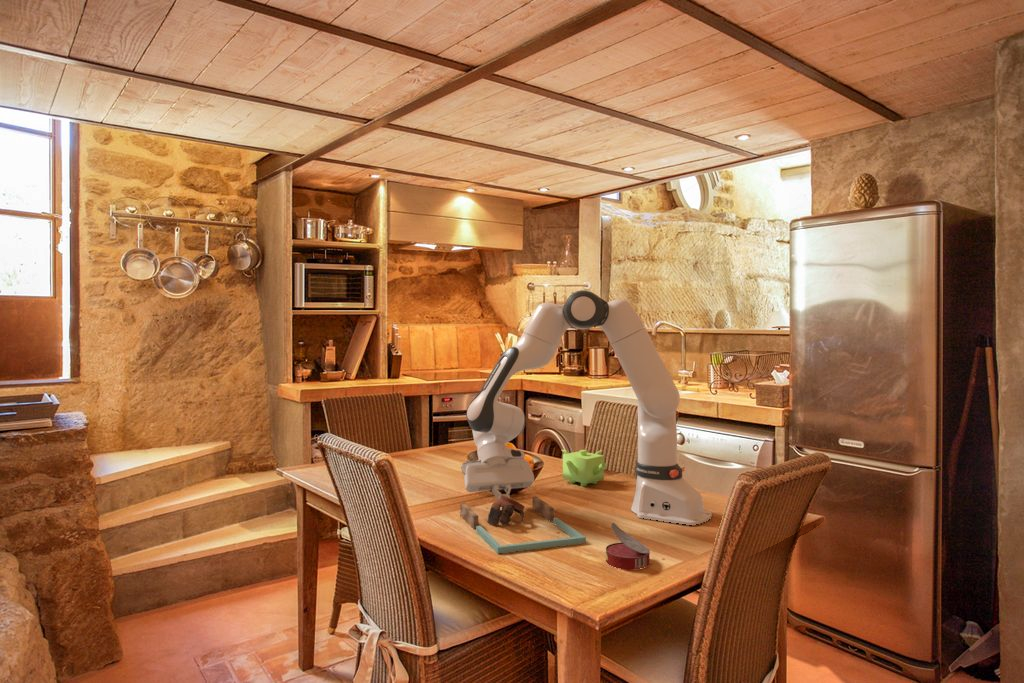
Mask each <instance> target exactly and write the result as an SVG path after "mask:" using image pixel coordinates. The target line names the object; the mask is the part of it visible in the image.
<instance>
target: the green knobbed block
mask: <svg viewBox="0 0 1024 683" xmlns="http://www.w3.org/2000/svg"><path fill="white" fill-rule="evenodd" d="M561 451H562V453H563V454H562V479H564V480H568V484H573V485H575V483H576V482H578V483H580V487H582V488H585V486H586V487H588V484H592V485H598V484H597V483H598V482H600V481H605V470H606V469H607V468H608V467H607V464H606V463H605V455H603V454H601V453H602V452H603V451H602V450H598V451H597V450H596V452H595V453H594V452H593V453H592V452H588V450H587V449H579V451H575V452H570V453H569V452H568V451H567V450H566V449H561Z"/></svg>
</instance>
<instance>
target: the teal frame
mask: <svg viewBox="0 0 1024 683" xmlns="http://www.w3.org/2000/svg"><path fill="white" fill-rule="evenodd" d="M552 522H553V523H554V524H556V525H557V526H558V527H557V526H556V525H555V526H556V527H557V528H559V527H560V528H561V529H562V530H561V529H560V528H559V529H560V530H561V531H563V530H564V531H565V532H564V531H563V532H564V533H566V532H567V533H568V534H569V535H568V534H567V533H566V534H567V535H568V536H570V535H571V536H572V537H571V536H570V537H563V538H553V539H544V540H536V541H528V542H518V543H510V544H504V545H502V544H500V542H498V541H497V540H496V539H495V538H494V537H493V536H492V535H491V534H490V533H489V532H488V531H487V530H486V529H484V527H483V526H482V525H478V526H476V529H475V532H476V533H477V535H479V537H481V538H482V540H483V541H485V543H486V544H487V545H488V546H490V548H491V547H492V548H493V549H494V550H495V551H496V552H497V553H496V552H495V551H494V550H493V549H492V548H491V549H492V550H493V551H494V552H495V553H496V554H497V555H500V553H502V554H508V553H509V552H510V553H516V551H518V552H524V550H527V551H532V550H533V549H535V550H542V548H543V549H549V547H551V548H556V546H560V547H565V546H564V545H568V546H574V545H573V544H576V545H581V544H580V543H584V544H586V543H587V537H586V536H585V535H584V534H582V533H580V532H579V531H577V530H576V529H574V528H573V527H572V526H570V525H569V524H568V523H566V522H564V521H563V520H561V519H560V518H559V517H554V518H553V521H552ZM553 523H552V524H553ZM554 524H553V525H554Z"/></svg>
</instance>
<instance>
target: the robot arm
mask: <svg viewBox="0 0 1024 683" xmlns="http://www.w3.org/2000/svg"><path fill="white" fill-rule="evenodd" d="M593 327H597V328H599V329H601V330H602V331H603V333H604V334H605V336H606V338H607V340H608V342H609V344H610V346H611V349H612V350H613V352H614V354H615V356H616V358H617V360H618V362H619V364H620V366H621V368H622V370H623V372H624V374H625V376H626V377H627V380H628V382H629V384H630V387H631V389H632V390H633V392H634V395H635V396H636V399H637V461H635V478H636V485H635V492H634V497H633V501H632V505H631V508H630V509H631V512H633V513H634V514H636V517H637V518H639V519H643V518H644V520H650V519H651V520H650V521H656V520H658V521H657V522H663V521H664V523H669V522H671V523H670V524H676V523H679V524H678V525H682V524H686V525H685V526H689V525H692V526H697V525H696V524H699V525H701V524H700V523H702V524H704V523H703V522H705V523H707V522H709V521H710V520H711V519H712V518H713V517H712V516H713V515H712V512H711V511H709V510H706V509H705V507H704V501H703V497H702V494H701V493H700V492H699V491H698V490H697V489H696V488H694V487H693V486H692V485H691V484H690V483H689V482H688V480H686V479H685V478H683V472H685V471H686V470H685V469H686V467H684V466H683V467H681V466H680V465H679V463H678V462H677V461H678V460H677V458H678V455H677V454H678V452H677V451H678V433H677V432H678V431H677V415H676V414H677V409H678V407H679V406H680V401H681V399H680V398H681V397H680V392H679V390H678V388H677V386H676V384H675V382H674V380H673V378H672V376H671V374H670V372H669V371H668V369H667V367H666V365H665V362H664V361H663V359H662V357H661V355H660V353H659V352H658V350H657V348H656V346H655V344H654V342H653V340H652V338H651V336H650V334H649V332H648V330H647V328H646V326H645V324H644V323H643V321H642V318H641V317H640V315H639V314H638V313H637V311H636V309H635V308H634V307H633V305H632V304H631V303H630V302H629V301H628V300H626V299H622V298H620V299H619V298H618V299H617V298H616V299H613V300H610V301H606V300H605V299H603V298H601V297H600V296H599V295H597V294H596V293H594V292H592V291H589V290H584V289H583V290H577V291H575V292H572V294H570V295H569V296H568V298H567V299H566V301H565V303H563V304H556V303H554V302H546V301H545V302H541V303H540V304H537V306H536V308H535V309H534V311H533V312H532V314H531V315H530V317H529V319H528V321H527V323H526V325H525V327H524V329H523V332H522V334H521V335H520V337H519V339H518V340H517V341H516V342H515V344H514V345H513V346H511V347H508V348H506V350H505V351H504V352H502V354H501V355H500V357H499V359H498V360H497V362H496V363H495V365H494V366H493V369H492V370H491V372H490V374H489V375H488V377H487V379H486V380H485V382H484V384H483V385H482V387H481V389H479V392H478V393H477V395H476V396H475V397H474V398H473V399H472V401H471V402H470V403H469V404H468V407H467V409H466V419H467V422H468V425H469V427H470V428H471V430H472V438H473V441H474V442H473V443H474V445H475V446H476V448H477V450H476V451H477V452H476V454H477V460H476V459H475V460H466V461H464V462H463V463H462V464H461V467H460V469H461V473H462V475H463V476H464V479H463V480H464V482H463V483H464V488H465V490H466V491H467V492H469V493H473V492H486V491H492V494H493V495H494V496H495V497H496V498H497V500H498V499H500V497H501V495H503V496H506V497H509V498H511V496H510V493H511V490H512V489H522V488H523V489H524V488H531V487H532V485H533V484H534V481H535V475H534V472H533V469H532V467H531V464H530V463H529V461H528V460H526V459H525V457H526V456H525V452H524V451H523V450H518V449H514V448H510V447H508V446H507V445H506V444H507V443H509V442H511V441H513V440H514V439H516V438H517V437H519V436H520V435H521V434H522V433H523V431H524V429H525V427H526V416H525V412H524V411H523V409H522V408H521V407H518V406H515V405H513V404H510V403H505V402H503V401H498V399H499V398H500V395H501V394H502V392H503V391H504V389H505V388H506V386H507V384H508V382H509V380H510V379H511V378H512V377H513V376H514V375H515V374H518V373H520V372H522V371H528V370H537V369H541V368H543V367H545V366H547V365H548V364H550V363H551V361H552V359H553V358H554V356H555V354H556V352H557V349H558V347H559V345H560V342H561V339H562V337H563V335H564V334H565V332H566V331H567V330H569V329H572V330H573V329H575V330H582V331H583V330H584V331H585V330H589V329H592V328H593ZM500 490H504V492H505V493H502V492H500ZM711 517H712V518H711ZM709 519H710V520H709ZM708 520H709V521H708ZM706 521H707V522H706Z"/></svg>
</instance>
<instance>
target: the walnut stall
mask: <svg viewBox="0 0 1024 683" xmlns="http://www.w3.org/2000/svg"><path fill="white" fill-rule="evenodd" d="M459 505H460V508H459V510H460V511H459V512H460V517H461V518H462V519H463V520H464V521H465V522H466V523H467V524H468V525H469V526H470V527H471V528H472V529H473V530H474V529H475V530H476V526H479V515H478V514H477V513H476V512H475V511H474V510H473V509H472V508H470V507H469V506H468V505H467V504H466V503H465V502H462V503H460V504H459ZM532 508H533V509H534V510H533V509H532ZM532 508H531V509H532V510H533V511H535V510H536V511H537V512H536V511H535V512H536V513H538V514H539V513H540V514H541V516H542V515H543V516H544V517H543V516H542V517H543V518H545V519H546V518H547V519H548V521H549V520H550V521H549V522H553V518H555V507H553V506H551V505H550V504H549V503H547V502H546V501H544V500H542V499H541V498H539V497H537V496H532ZM540 514H539V515H540ZM547 519H546V520H547Z"/></svg>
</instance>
